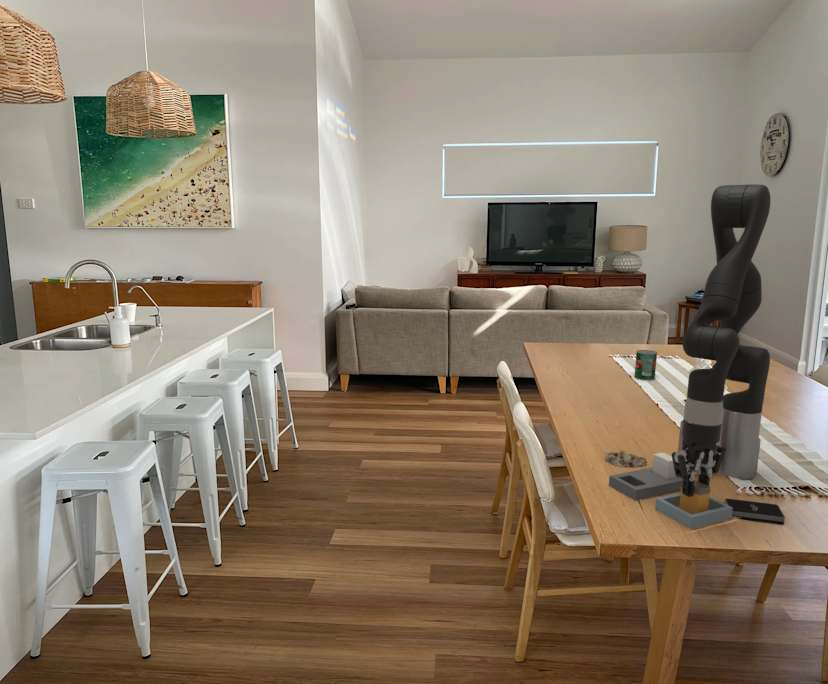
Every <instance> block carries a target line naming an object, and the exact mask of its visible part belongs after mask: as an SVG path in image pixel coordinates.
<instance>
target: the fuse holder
mask: <svg viewBox="0 0 828 684" xmlns="http://www.w3.org/2000/svg"><path fill="white" fill-rule="evenodd" d="M652 467H653V466H652ZM652 467H646V468H642V469H637V470H631V471H627V472H622V473H621V472H620V473H617V474H611V475H609V478H608V486H609V487H611V488H612V489H614V490H615V491H617V492H619V493H621V494H622V495H625V496H627V497H629V498H630V499H632V500H634V501H639V500H644V499H650V498H654V497H657V496H658V497H659V496H663V495H668V494H673V493H677V492H681V484H682V480H683V479H682V478H680V477H678V476H677V478H674V479H669V480H667V479H665V478H663V477H661V476H659V475H657V474H655V473H653V472H652Z"/></svg>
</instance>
